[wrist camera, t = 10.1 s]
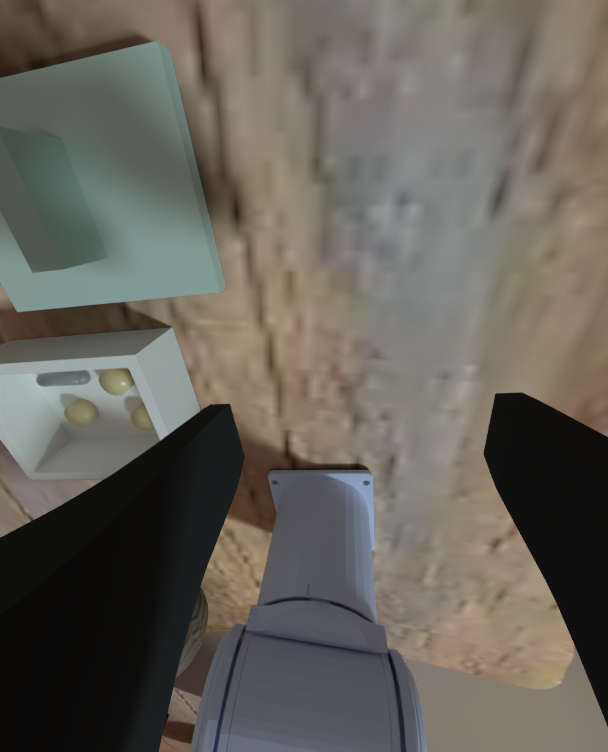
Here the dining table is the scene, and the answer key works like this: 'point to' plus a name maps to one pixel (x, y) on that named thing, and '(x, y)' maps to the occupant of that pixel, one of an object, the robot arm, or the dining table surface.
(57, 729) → the robot arm
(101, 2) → the dining table surface
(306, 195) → the dining table surface
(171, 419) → the tub
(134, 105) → the lid
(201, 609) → the vase
